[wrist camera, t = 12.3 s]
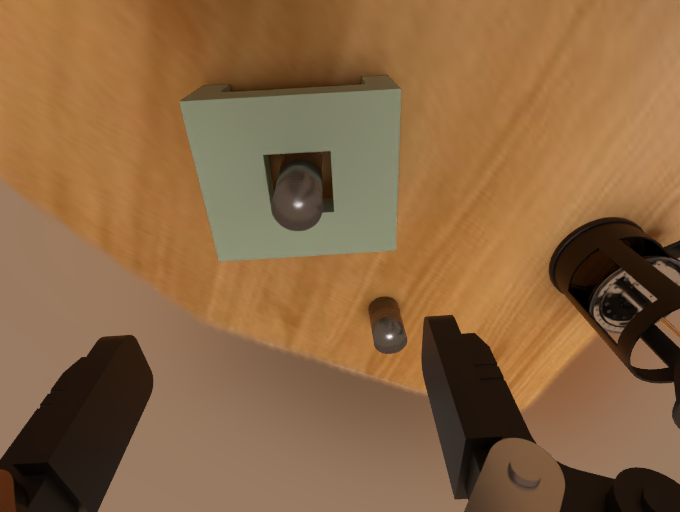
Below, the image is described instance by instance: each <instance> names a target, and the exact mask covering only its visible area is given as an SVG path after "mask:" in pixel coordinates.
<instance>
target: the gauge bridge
mask: <svg viewBox="0 0 680 512" xmlns="http://www.w3.org/2000/svg"><path fill="white" fill-rule="evenodd" d="M179 103H180V107H181V111H182V115H183V119H184V123H185V127H186V131H187V135H188V139H189V143H190V147H191V151H192V155H193V159H194V163H195V167H196V171H197V175H198V179H199V183H200V187H201V191H202V195H203V199H204V203H205V207H206V211H207V215H208V219H209V223H210V227H211V231H212V235H213V239H214V243H215V247H216V251H217V255H218V259H219V262H220V261H236V260H252V259H268V258H284V257H300V256H316V255H332V254H348V253H364V252H380V251H396V229H397V200H398V171H399V142H400V113H401V88H400V87H399V86H398V85H397V84H396V83H395V82H394V81H393V80H392V79H391V78H390V77H389V76H388V75H380V76H362V77H361V84H359V85H341V86H324V87H306V88H289V89H271V90H254V91H236V92H231V90H230V84H221V85H204V86H202V87H200V88H199V89H197V90H196V91H194V92H193V93H191V94H190V95H188V96H187V97H185V98H184V99H182V100H181V101H179ZM321 151H330V153H331V170H332V187H333V198H329V199H323V212H322V216H321V218H320V220H319V222H318V223H317V224H316V225H315V226H313V227H312V228H310V229H308V230H304V231H292V230H288V229H286V228H284V227H282V226H281V225H280V224H279V223H278V222H277V221H276V220H275V218H274V216H273V214H272V209H271V205H272V200H273V196H274V189H273V182H272V175H271V168H270V161H269V155H270V154H287V153H304V152H321Z"/></svg>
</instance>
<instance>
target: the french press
mask: <svg viewBox="0 0 680 512" xmlns="http://www.w3.org/2000/svg"><path fill="white" fill-rule="evenodd" d="M629 238H630V239H631V241H632V244H633V250H632V249H631V248H629V247H628V246H627V245H626V244H624V243H623V242H622V241H620V240H624V239H629ZM599 249H600V250H601V251H602V252H603V253H604V254H605V255H607V256H608V257H609V258H610V259H611V260H612V261H613V262H615V263H616V264H617V265H618V267H616V268H615V269H613V270H612V271H610V272H609V273H608V274H607V275H606V276H605V277H604V278H602V280H601V281H600V282H599V283H598V284H597V285H596V286H595V287H588V288H582V287H577V286H573V285H572V284H571V281H572V278H573V276H574V274H575V272H576V271H577V269H578V268H579V266H580V265H581V264H582V263H583V262H584V261H585V260H586V259H587V258H588V257H589V256H590V255H591V254H593V253H594V252H596V251H597V250H599ZM679 257H680V241H677V242H675V243H673V244H670V245H668V246H666V247H662V246H661V244H659V243H658V242H657V241H655V240H654V239H652V238H651V237H649V236H648V235H647V234H645V233H644V231H643V230H642V229H641V227H639V226H638V225H637V224H635V223H634V222H632V221H629V220H627V219H622V218H604V219H600V220H596V221H593V222H591V223H588V224H586V225H584V226H582V227H580V228H578V229H577V230H575V231H574V232H573V233H571V234H570V235H569V236H568V237H567V238H565V239H564V240H563V241H562V242H561V244H560V245H559V246H558V248H557V249H556V250H555V252H554V254H553V256H552V259H551V262H550V266H549V274H550V279H551V281H552V283H553V285H554V286H555V287H556V288H557V289H558V290H559V291H560V292H561V293H563V294H565V296H566V297H567V298H568V299H569V300H570V301H571V303H572V304H573V305H574V306H575V307H576V308H577V310H578V311H579V312H580V313H581V314H582V315H583V317H584V318H585V319H586V320H587V321H588V322H589V324H590V325H591V326H592V327H593V328H594V330H595V331H596V332H597V333H598V334H599V335H600V337H602V339H603V340H604V341H605V342H606V343H607V345H608V346H609V347H610V348H611V349H612V351H613V352H614V353H615V354H616V355H617V356H618V358H619V359H620V360H621V361H622V362H623V363H624V365H625V366H626V367H627V368H628V369H629V370H630V372H631V373H632V374H633V375H634V376H635V377H637V378H639V379H641V380H643V381H646V382H650V383H672V382H674V385H675V394H676V402H675V404H674V407H673V410H672V417H673V420H674V422H675V424H676V425H677V426H678V428H680V348H679V347H678V346H677V345H676V344H675V343H674V342H673V341H671V340H670V339H669V338H668V337H667V336H666V335H665V334H664V333H663V332H662V331H661V330H660V329H659V328H658V327H657V326H656V325H655V323H657V322H659V321H662V322H663V323H664V324H665V325H666V326H667V327H668V328H669V329H670V330H671V331H672V332H674V333H675V334H676V335H677V336H678V337H679V338H680V332H679V331H678V330H677V329H676V328H675V327H674V326H673V325H672V324H671V323H669V322H668V321H667V320H666V319H665V317H666V316H668V315H669V314H670V313H671V312H673V311H675V310H677V309H680V260H678V259H677V258H679ZM607 332H609V333H621V335H620V337H619V339H618V344H617V343H616V342H615V341H614V340H613V339H612V337H611V336H610V335H609V334H608V333H607ZM639 338H641V339H642V340H643V341H644V342H645V343H646V344H647V345H648V346H649V347H650V348H651V349H652V350H653V352H655V354H656V355H657V356H659V358H660V359H661V360H663V362H664V363H665V364H666V365H667V366H668V368H663V369H655V370H654V369H653V370H648V369H640V368H636V367H633V366H631V365H630V356H631V352H632V349H633V347H634V345H635V343H636V342H637V341H638V339H639Z"/></svg>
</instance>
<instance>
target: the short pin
mask: <svg viewBox="0 0 680 512" xmlns="http://www.w3.org/2000/svg"><path fill="white" fill-rule="evenodd" d="M369 315H370V322H371V328H372V334H373V340H374V346H375V348H376V349H377V350H378V351H380V352H382V353H385V354H392V353H396V352H399V351H400V350H402V349H403V348H404V347H405V346H406V344H407V337H406V333H405V329H404V326H403V322H402V318H401V314H400V310H399V307H398V303H397V302H396V301H395V300H394V299H393V298H390V297H380V298H377V299H375V300H374V301H372V302H371V304H370V306H369Z"/></svg>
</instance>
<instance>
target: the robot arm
mask: <svg viewBox="0 0 680 512" xmlns="http://www.w3.org/2000/svg"><path fill="white" fill-rule="evenodd" d="M422 371H423V377H424V381H425V385H426V389H427V393H428V397H429V400H430V404H431V408H432V412H433V416H434V420H435V424H436V428H437V432H438V436H439V440H440V443H441V447H442V451H443V455H444V459H445V463H446V467H447V471H448V475H449V479H450V483H451V487H452V490H453V494H454V498H455V499H468V504H467V506H466V508H465V511H464V512H680V484H678V483H677V482H675V481H674V480H672V479H671V478H669V477H667V476H665V475H663V474H661V473H659V472H656V471H653V470H650V469H646V468H637V467H636V468H629V469H625V470H623V471H622V472H620V473H619V474H618V475H617V477H616V479H612V478H608V477H604V476H600V475H596V474H592V473H588V472H584V471H580V470H576V469H573V468H570V467H568V466H566V465H563V464H561V463H559V462H558V461H556V460H555V459H554V458H553V457H552V456H551V455H550V454H549V453H548V452H547V451H546V450H544V449H543V448H542V447H540V446H539V445H537V444H536V442H535V441H534V440H533V438H532V436H531V434H530V433H529V430H528V428H527V426H526V424H525V422H524V420H523V417H522V415H521V413H520V411H519V409H518V407H517V405H516V403H515V400H514V398H513V396H512V394H511V392H510V390H509V388H508V386H507V383H506V381H504V378H503V375H502V373H501V371H500V369H499V367H498V366H497V362H496V360H495V358H494V356H493V354H492V352H491V349H490V347H489V346H488V345H487V344H486V343H485V342H484V341H483V340H482V339H480V338H479V337H478V336H477V335H476V334H475V333H467V334H461V332H460V330H459V327H458V325H457V322H456V320H455V318H454V316H453V315H444V316H429V317H425V318H424V326H423V341H422ZM152 388H153V375H152V371H151V369H150V367H149V365H148V363H147V361H146V358H145V356H144V354H143V352H142V350H141V348H140V346H139V344H138V341H137V339H136V338H135V337H134V336H132V335H124V336H107V337H102V338H100V339H99V340H98V341H97V342H96V344H95V345H94V347H93V348H92V350H91V351H90V352H89V354H88V355H87V357H81V358H80V359H79V360H78V361H77V362H75V364H73V365H72V366H71V367H70V368H68V369H67V370H66V371H65V372H64V373H63V374H62V375H61V377H60V378H59V379H58V381H57V382H56V383H55V385H54V386H53V388H52V389H51V393H50V394H48V395H47V396H46V397H45V399H44V400H43V402H42V403H41V404H40V408H39V409H37V410H36V411H35V413H34V414H33V415H32V417H31V418H30V419H29V421H28V422H27V424H26V425H25V426H24V428H23V429H22V430H21V432H20V434H19V435H18V436H17V438H16V439H15V440H14V442H13V443H12V444H11V446H10V447H9V448H8V450H7V451H6V453H5V454H4V455H3V457H2V458H1V460H0V512H98V509H99V507H100V505H101V503H102V501H103V498H104V496H105V494H106V492H107V490H108V488H109V485H110V483H111V481H112V479H113V477H114V474H115V472H116V470H117V468H118V465H119V463H120V461H121V459H122V457H123V455H124V453H125V450H126V448H127V446H128V444H129V442H130V439H131V437H132V435H133V433H134V431H135V428H136V426H137V424H138V422H139V420H140V417H141V415H142V413H143V411H144V409H145V406H146V404H147V402H148V400H149V398H150V396H151V393H152Z"/></svg>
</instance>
